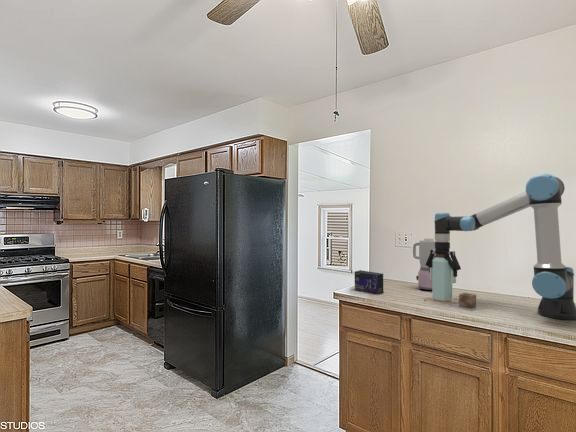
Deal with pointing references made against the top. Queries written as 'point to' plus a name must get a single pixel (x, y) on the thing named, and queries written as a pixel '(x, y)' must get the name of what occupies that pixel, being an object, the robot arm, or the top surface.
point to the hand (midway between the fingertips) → (442, 281)
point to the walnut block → (467, 300)
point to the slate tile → (468, 308)
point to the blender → (424, 262)
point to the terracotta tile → (441, 302)
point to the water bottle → (441, 279)
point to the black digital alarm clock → (369, 282)
